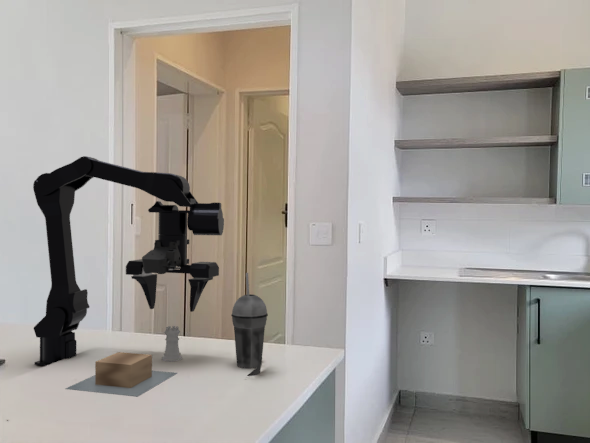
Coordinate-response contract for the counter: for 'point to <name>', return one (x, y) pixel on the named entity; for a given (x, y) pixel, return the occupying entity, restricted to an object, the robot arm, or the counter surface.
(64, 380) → the counter surface
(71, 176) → the robot arm
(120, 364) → the base brick
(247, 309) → the beverage cup
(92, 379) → the build plate
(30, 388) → the counter surface
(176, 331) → the rook chess piece
